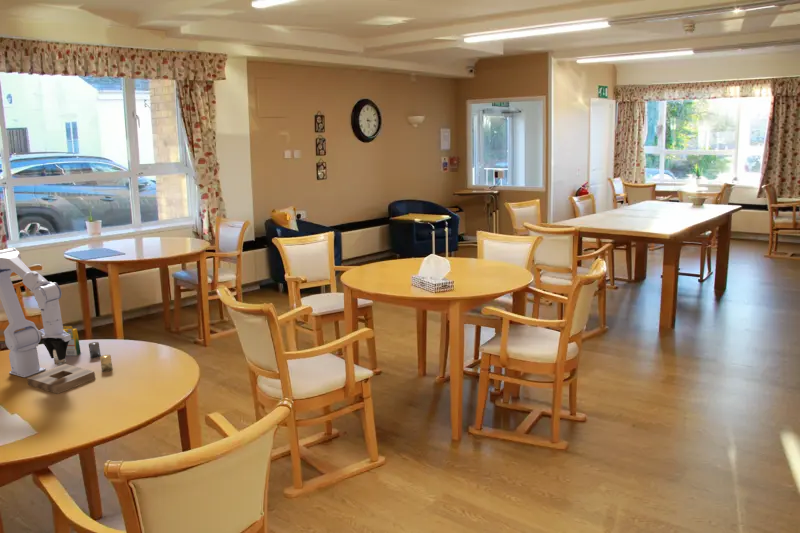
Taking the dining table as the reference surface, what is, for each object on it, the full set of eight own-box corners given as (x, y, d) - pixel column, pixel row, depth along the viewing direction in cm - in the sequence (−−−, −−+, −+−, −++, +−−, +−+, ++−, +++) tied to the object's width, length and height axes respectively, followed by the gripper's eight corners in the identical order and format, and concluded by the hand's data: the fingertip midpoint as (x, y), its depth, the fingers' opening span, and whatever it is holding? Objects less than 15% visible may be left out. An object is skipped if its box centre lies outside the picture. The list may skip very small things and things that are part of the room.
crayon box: (81, 352, 262) (76, 323, 260) (77, 355, 260) (72, 326, 257) (62, 352, 263) (58, 323, 260) (58, 355, 260) (53, 326, 258)
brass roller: (99, 370, 244) (97, 357, 243) (108, 367, 247) (106, 354, 246) (106, 372, 242) (104, 358, 241) (114, 369, 245) (112, 355, 244)
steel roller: (52, 363, 234) (50, 349, 233) (62, 360, 237) (60, 346, 235) (57, 365, 232) (55, 351, 231) (68, 362, 234) (66, 348, 233)
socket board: (28, 384, 234) (27, 378, 233) (66, 370, 245) (65, 363, 245) (57, 393, 226) (56, 386, 225) (95, 378, 237) (94, 371, 237)
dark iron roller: (88, 357, 258) (86, 344, 257) (96, 354, 261) (94, 341, 260) (94, 358, 256) (92, 345, 255) (102, 355, 259) (100, 342, 258)
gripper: (27, 320, 230) (34, 358, 234) (54, 326, 223) (60, 365, 226) (47, 314, 236) (53, 352, 240) (74, 319, 229) (80, 358, 232)
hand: (58, 358), depth 233 cm, fingers closed on steel roller, 3 cm apart
